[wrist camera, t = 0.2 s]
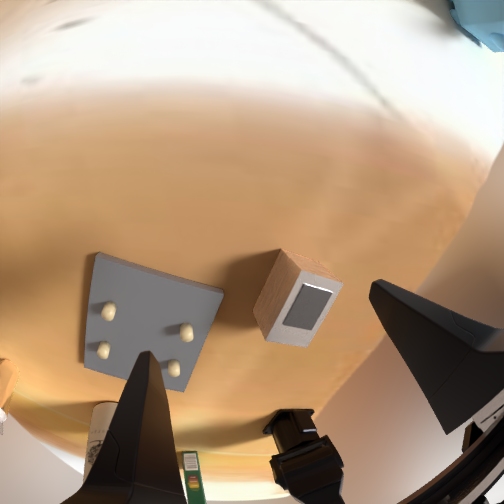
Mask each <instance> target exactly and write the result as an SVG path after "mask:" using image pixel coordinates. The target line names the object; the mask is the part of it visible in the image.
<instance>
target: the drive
mask: <svg viewBox="0 0 504 504" xmlns="http://www.w3.org/2000/svg"><path fill="white" fill-rule="evenodd" d="M343 284H344V283H342V282H341V281H340V280H339V279H338V278H337V277H336V276H335V275H333V274H332V273H331V272H330V271H329V270H328V269H327V268H326V267H324V266H323V265H322V264H321V263H320V262H318V261H315V260H313V259H310V258H307V257H304V256H301V255H298V254H296V253H293V252H290V251H287V250H284V249H281V250H280V252H279V254H278V257H277V259H276V261H275V263H274V265H273V267H272V270H271V272H270V274H269V276H268V278H267V280H266V283H265V285H264V287H263V289H262V291H261V293H260V295H259V297H258V300H257V302H256V304H255V306H254V308H253V310H252V312H253V314H254V316H255V319H256V321H257V323H258V325H259V328H260V330H261V332H262V334H263V337H264V339H265V341H269V342H275V343H281V344H288V345H294V346H301V347H308V345H309V343H310V342H311V340H312V339H313V337H314V335H315V334H316V332H317V330H318V329H319V327H320V325H321V323H322V322H323V320H324V318H325V317H326V315H327V313H328V311H329V310H330V308H331V306H332V304H333V302H334V301H335V299H336V297H337V295H338V293H339V291H340V290H341V288H342V286H343Z"/></svg>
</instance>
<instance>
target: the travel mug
mask: <svg viewBox="0 0 504 504" xmlns="http://www.w3.org/2000/svg"><path fill="white" fill-rule="evenodd" d="M117 404H118V403H113V402H105V403H100V404H98V405H96V406H95V407H94V408H93V412H92V418H91V423H90V429H89V436H88V442H87V450H86V458H85V467H84V479H83V483H84V482H85V480H86V477H87V475H88V473H89V471H90V469H91V467H92V465H93V463H94V461H95V459H96V457H97V455H98V452H99V450H100V448H101V445H102V443H103V440H104V438H105V435H106V433H107V430H109V429H108V427H109V425H110V422H111V420H112V417H113V415H114V412H115V409H116V407H117Z"/></svg>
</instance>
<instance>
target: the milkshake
mask: <svg viewBox="0 0 504 504" xmlns="http://www.w3.org/2000/svg"><path fill="white" fill-rule="evenodd" d="M19 376H20V371H19V369H18V368H17V366H16V365H15V364H14V363H13V362H12V361H10V360H7V359H4V360H2V362H1V363H0V421H1V435H3V421H5V420H6V418H7V414H8V410H9V407H10V403H11V400H12V396H13V393H14V390H15V387H16V385H17V382H18V379H19Z"/></svg>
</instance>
